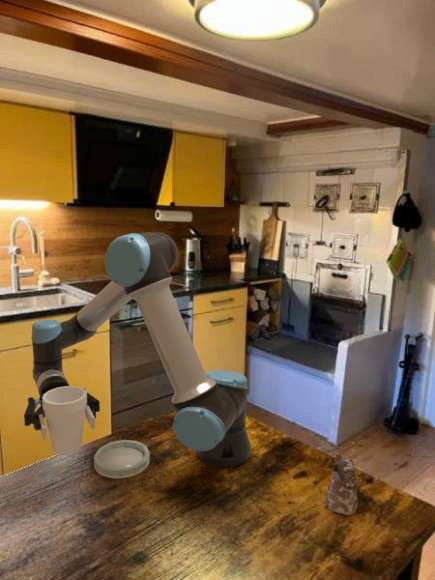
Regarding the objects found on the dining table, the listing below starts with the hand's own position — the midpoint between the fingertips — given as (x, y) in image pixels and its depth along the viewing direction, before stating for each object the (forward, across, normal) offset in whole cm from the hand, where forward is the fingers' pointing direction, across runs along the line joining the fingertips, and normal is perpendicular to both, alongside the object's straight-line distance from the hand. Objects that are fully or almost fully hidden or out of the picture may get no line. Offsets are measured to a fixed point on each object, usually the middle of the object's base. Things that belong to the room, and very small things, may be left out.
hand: (69, 428), depth 94 cm
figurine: (+27, -55, -19) cm, 65 cm away
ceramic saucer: (-11, -15, -19) cm, 26 cm away
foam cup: (-4, 0, -7) cm, 8 cm away
